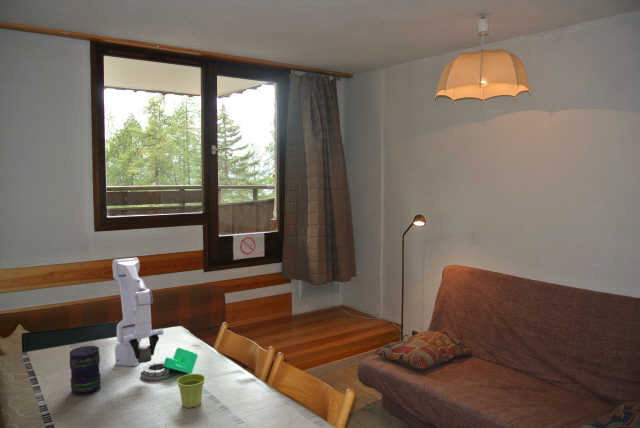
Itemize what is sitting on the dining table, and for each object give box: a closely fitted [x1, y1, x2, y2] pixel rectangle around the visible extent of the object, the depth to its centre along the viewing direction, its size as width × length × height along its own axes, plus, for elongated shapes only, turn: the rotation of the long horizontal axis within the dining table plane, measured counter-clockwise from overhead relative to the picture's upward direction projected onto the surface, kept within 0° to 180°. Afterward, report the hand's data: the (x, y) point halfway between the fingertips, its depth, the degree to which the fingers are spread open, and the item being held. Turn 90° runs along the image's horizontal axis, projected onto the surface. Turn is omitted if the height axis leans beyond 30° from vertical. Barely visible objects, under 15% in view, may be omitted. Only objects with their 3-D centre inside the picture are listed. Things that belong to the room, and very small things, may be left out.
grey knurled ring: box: [140, 361, 176, 382], centre depth 187 cm, size 13×13×3 cm
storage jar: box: [69, 345, 102, 397], centre depth 173 cm, size 10×10×15 cm
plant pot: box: [176, 373, 206, 409], centre depth 161 cm, size 9×9×9 cm
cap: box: [138, 344, 152, 364], centre depth 182 cm, size 5×5×5 cm
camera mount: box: [163, 347, 199, 374], centre depth 188 cm, size 12×8×10 cm
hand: (144, 356), depth 182 cm, fingers closed on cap, 5 cm apart
